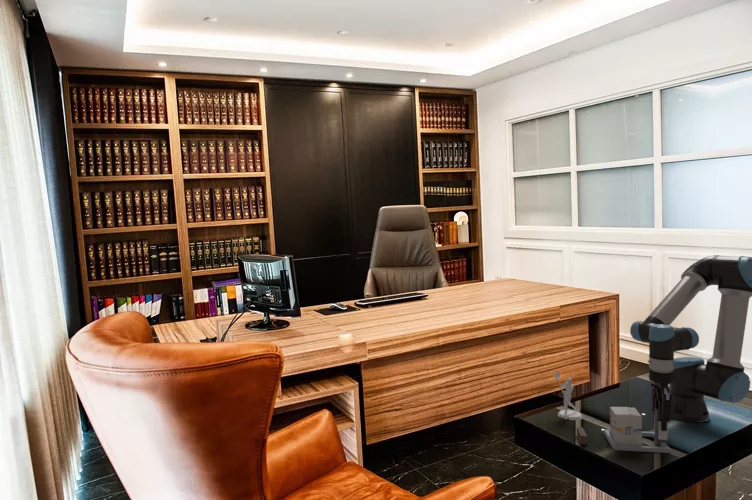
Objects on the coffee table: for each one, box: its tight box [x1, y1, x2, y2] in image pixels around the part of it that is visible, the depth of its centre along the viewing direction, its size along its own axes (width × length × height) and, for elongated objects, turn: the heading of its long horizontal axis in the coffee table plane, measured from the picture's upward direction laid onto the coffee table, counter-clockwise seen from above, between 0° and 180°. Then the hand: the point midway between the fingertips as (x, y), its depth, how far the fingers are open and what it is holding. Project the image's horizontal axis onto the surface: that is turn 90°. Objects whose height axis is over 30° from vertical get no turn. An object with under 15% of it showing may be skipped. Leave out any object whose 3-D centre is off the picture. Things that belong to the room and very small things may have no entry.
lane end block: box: [576, 426, 588, 446], centre depth 183 cm, size 2×8×3 cm, turn 169°
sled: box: [603, 408, 671, 454], centre depth 179 cm, size 18×14×12 cm
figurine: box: [553, 370, 584, 421], centre depth 206 cm, size 10×10×18 cm
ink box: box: [609, 406, 643, 446], centre depth 179 cm, size 9×8×12 cm
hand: (660, 436), depth 178 cm, fingers closed on sled, 3 cm apart
